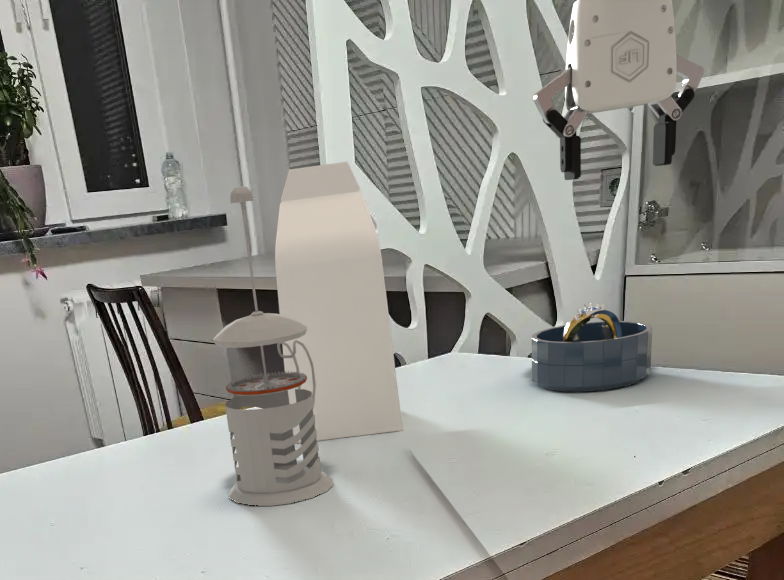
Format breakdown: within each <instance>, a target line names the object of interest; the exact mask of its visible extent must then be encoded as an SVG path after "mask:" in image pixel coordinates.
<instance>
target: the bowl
mask: <svg viewBox="0 0 784 580" xmlns="http://www.w3.org/2000/svg"><path fill="white" fill-rule="evenodd" d="M619 322H620V325H621V330H622V337H620V338H614V339H613V337H612V332H611V330H610V328H609V326H608V325H607V324H606V323H605V322H604V321H603V320H600V321H589V322H587V323H586V324H584V325H583V326H582V327H581V328H580V329H579V330H578V331H577V333H576V334H575V336H574V338H573V340H572V342H562V338H563V334H564V330H565V327H566V325H567V324H564V325H559V326H554V327H549V328H545V329H543V330H538V331H536V332H535V333H533V334H532V335H531V381H532V382H534V383H535V384H537V386H538V387H540V388H541V389H545V390H550V391H554V392H565V393H567V392H569V393H570V392H571V393H575V392H577V393H578V392H579V393H580V392H581V393H583V392H597V391H607V390H614V389H613V388H615V389H619V387H620V388H624V387H627V386H626V385H628V386H630V385H629V384H632V385H634V384H633V383H635V382H637V383H639V382H641V381H642V380H643V379H644V378H645V377H646V376H648V375H649V374H650V373H651V367H652V366H651V365H652V364H651V363H652V344H653V343H652V342H653V326H652V325H651V324H648V323H645V322H640V321H632V320H631V321H627V320H619ZM643 377H644V378H643ZM641 379H642V380H641ZM640 380H641V381H640ZM638 381H639V382H638ZM635 384H636V383H635ZM623 386H624V387H623Z"/></svg>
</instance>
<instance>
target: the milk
mask: <svg viewBox="0 0 784 580" xmlns="http://www.w3.org/2000/svg"><path fill="white" fill-rule="evenodd" d="M277 218H278V219H277V228H276V235H275V245H274V247H275V248H274V263H275V276H276V277H275V278H276V289H277V298H278V300H277V301H278V312H279V314H280V315H283V316H287V317H291V318H293V319H294V320H296V321H298V322H300V323H301V324H303V325H305V326H306V327H307V331H306V333H305V335H303V336H301V337H299V338H296V339H293V340H289V341H286V342H285V343H287V344H288V345H289V346H290V348H291V350H292V351H293V342H294V341H295V340H298V341H299V342H301V343H303V344H304V345H305V347H306V348H307V350H308V352H309V355H310V357H311V360H312V362H313V366H314V374H315V381H316V391H315V404H314V408H313V415H315V429H316V431H317V438H316V441H317V442H320V441H327V440H334V439H342V438H351V437H359V436H367V435H376V434H384V433H391V432H401V431H404V427H403V421H402V420H403V419H402V412H401V405H400V395H399V386H398V379H397V370H396V363H395V355H394V347H393V346H394V345H393V339H392V331H391V329H392V328H391V323H390V314H389V313H390V312H389V306H388V297H387V290H386V281H385V273H384V266H383V256H382V250H381V245H380V240H379V235H378V233H377V230H376V226H375V224H374V221H373V218H372V216H371V213H370V210H369V208H368V205H367V202H366V200H365V197H364V194H363V192H362V191H361V187H360V185H359V183H358V181H357V179H356V177H355V175H354V172H353V170H352V168H351V166H350V164H349V162H348V161H342V162H334V163H327V164H319V165H312V166H306V167H304V166H303V167H297V168H292V169H290V168H289V169H288V172H287V175H286V179H285V182H284V186H283V190H282V194H281V198H280V203H279V209H278V217H277ZM281 346H282V355H291V353H290V351H289V350H288V348H287V347H286V346H285V345H283V344H281ZM295 357H296V360H297V363H298V367H299V372H300V373H304V374H305V375H306V376H307V380H306V382H305V383H303V384H302V385H301V389H305V390H308V391H311V392H312V395H313V380H312V369H311V365H310V361H309V359H308V356H307V354H306V352H305V350H304V348H303V347H302V346H301V345H299V344H298V343H296V354H295ZM283 366H284V372H285V371H286V372H287V373H288V371H289V373H290V372H291V371H292V372H296V366H295V363H294V360H293V357H292V358H283ZM295 389H298V387H297V388H293V389H290V390H288V396H289V404H294V403H296V395H295ZM299 431H300V428H299V425H298V426H296V427H294V428H293V436H294V435H296V434H298V433H299ZM296 444H301V439H300V440H299V441H298V442H297V443H296Z"/></svg>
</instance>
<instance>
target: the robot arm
mask: <svg viewBox="0 0 784 580" xmlns="http://www.w3.org/2000/svg"><path fill="white" fill-rule="evenodd" d="M673 5H674V3H673V0H576V1H574V2H573V3H572V10H571V16H570V22H569V28H568V29H569V30H568V37H567V48H566V59H565V70H564V71H562V72H561V73H560V74H559V75H557V76H555V77H554V78H553V79H552V80H551V81H549V82H548V83H547V84H545V85H544V86H543V87H541V89H538V90H537V92H535V93H534V94H533V98H532V100H533V102H534V104H535V106H536V109H537V110H538V112H539V114H540V116H541V118H542V122H543V123H544V124H545V125H546V126H547V127H548V129H550V130H551V131H552V132H553V133H554V135H555V137H556V138H557V139H559V163H560V164H559V168H560V172H561V173H562V174H563V175H564V180H565V181H573V180H578V179H580V178H581V176H582V147H581V146H582V138H581V136H580V135H577V134H578V133H577V131H578V129H579V128H580V126H581V124H582V123H583V121H584V120H585V118H586V117H587V115H590V114H595V113H603V112H608V111H614V110H622V109H626V108H635V107H639V106H640V107H641V106H644V105H647V106H648V108H650V110H651V111H652V112H653V113H654V115H655V116H656V117H657V120H658V123H655V124H654V126H653V135H652V136H653V137H652V138H653V139H652V142H653V143H652V165H653V166H654V167H660V166H661V167H662V166H670V165H671V164H672V163H673V156H674V155H675V154H676V147H677V145H676V143H677V142H676V141H677V121H678V120H680V119H681V117H682V115H683V112H684V111H685V110H686V108H688V106H690V103H691V102H692V101H693V100H694V99H695V93H696V91H697V89H698V87H699V85H700V83H701V81H702V78H703V76H704V74H705V68H704V67H703V66H702V65H699V64H697V63H695V62H693V61H691V60H689V59H687V58H684V57H683V56H680V55H678V54H677V40H676V39H677V38H676V23H675V15H674V6H673ZM677 76H679V77H681V78H682V84H681V87H680V89H679V91H678V92H677V93H676V94H675V95H674V97H672V95H673V94H674V92H675V90H676V85H677ZM563 90H564V99H565V101H564V103H565V107H566V110H567V112H566V113H565V115H564V116H563V115H562V113H560V112H559V111H558V110H557V109H556V107H555V104H554V101H553V100H554V97H555V96H557V95H558V94H559V93H560V92H561V91H563Z"/></svg>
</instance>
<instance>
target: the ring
mask: <svg viewBox="0 0 784 580" xmlns="http://www.w3.org/2000/svg"><path fill="white" fill-rule="evenodd" d="M604 308H605V302H600V303H599V302H598V303H596V306H593V302H588V303H584V304H583V308H581V307H578V308H577V309H576V310H577V311H576V312H575V313H574V314H572V316H571V317H570V318H569V320H568V321H567V323H566V324H565V325H566V327H565V330H564V334H563V338H562V342H572V340H573V338H574V336H575V334H576V333H577V331H578V330H579V329H580V328H581V327H582V326H583V325H584V324H586V323H587V322H591V320H592V319H595V318H596V319H599V320H600V321H604V322H605V323H606V324H607V325H608V326H609V328H610V330H611V332H612V337H613V339H614V338H620V337H622V330H621V325H620V322H619V321H620V319H619V317H618V316H617V315H616V314H615V313H614V312H612V311H610V310H607V309H604Z"/></svg>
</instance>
